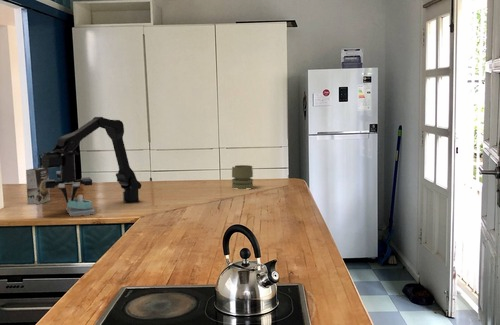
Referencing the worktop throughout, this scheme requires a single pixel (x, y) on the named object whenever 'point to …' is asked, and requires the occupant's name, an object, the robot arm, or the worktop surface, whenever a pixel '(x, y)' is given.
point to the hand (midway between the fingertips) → (69, 202)
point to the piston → (242, 176)
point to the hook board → (79, 211)
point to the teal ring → (79, 204)
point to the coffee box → (37, 186)
